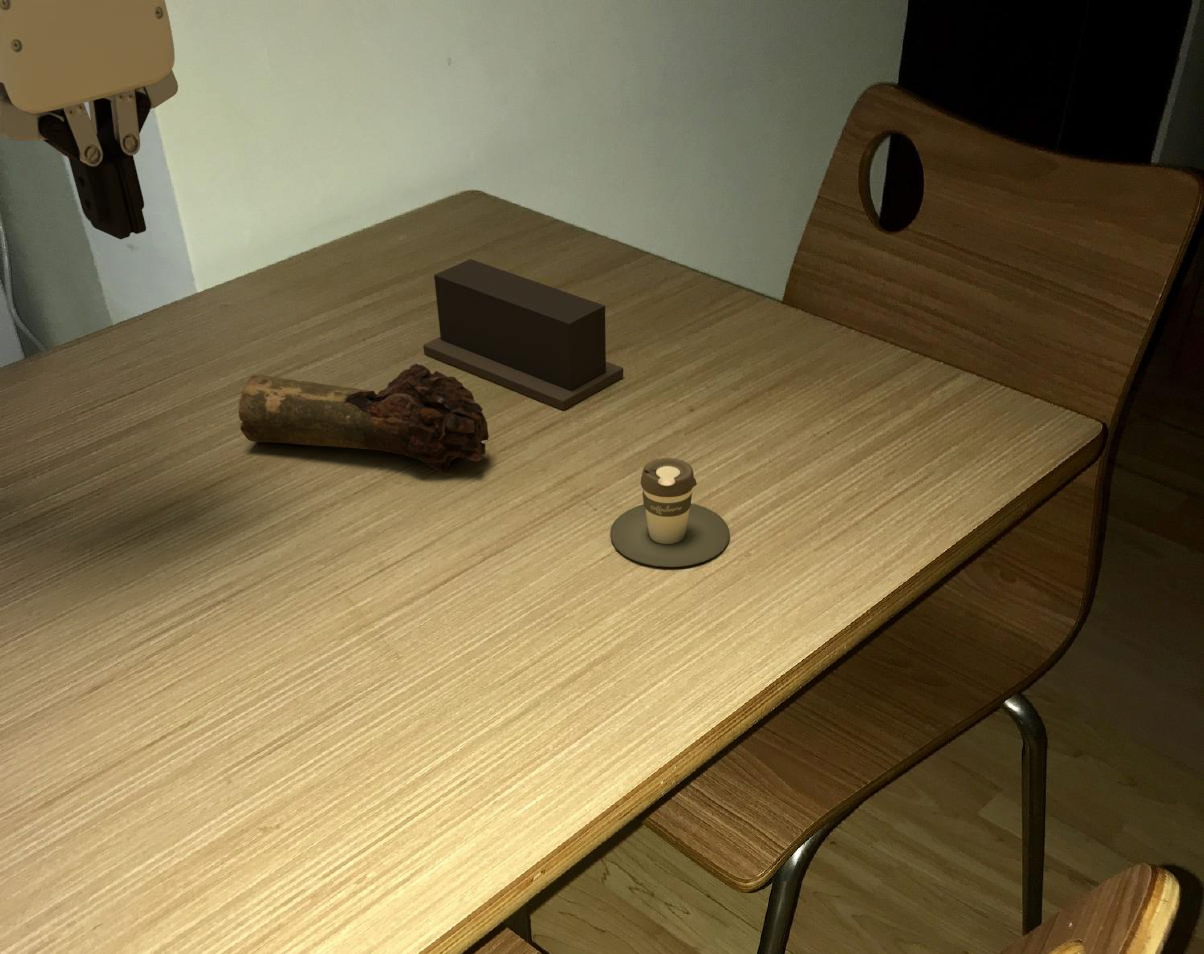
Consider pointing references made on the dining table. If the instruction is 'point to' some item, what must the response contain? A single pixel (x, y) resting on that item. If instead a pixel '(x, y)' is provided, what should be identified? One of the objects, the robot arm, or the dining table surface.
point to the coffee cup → (669, 521)
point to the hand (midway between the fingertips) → (119, 229)
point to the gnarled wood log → (369, 416)
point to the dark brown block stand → (521, 334)
